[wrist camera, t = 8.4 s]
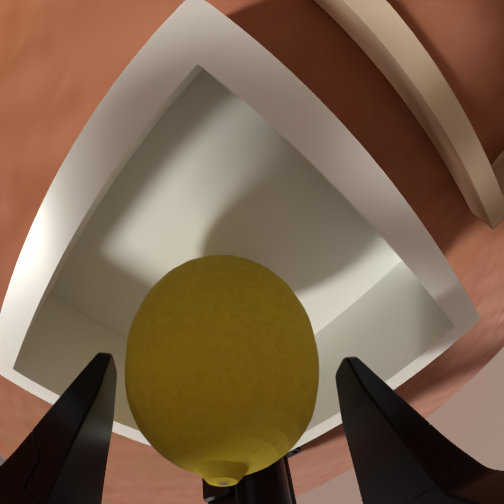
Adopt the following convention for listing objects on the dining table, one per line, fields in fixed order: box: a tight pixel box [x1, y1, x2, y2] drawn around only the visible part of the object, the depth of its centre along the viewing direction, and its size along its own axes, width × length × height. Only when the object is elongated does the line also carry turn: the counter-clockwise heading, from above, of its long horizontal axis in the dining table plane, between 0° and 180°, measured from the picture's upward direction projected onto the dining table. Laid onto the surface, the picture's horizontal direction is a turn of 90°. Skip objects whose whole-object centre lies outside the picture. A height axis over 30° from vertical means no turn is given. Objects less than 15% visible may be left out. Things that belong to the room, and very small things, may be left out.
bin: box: [0, 0, 481, 451], centre depth 11 cm, size 13×13×5 cm
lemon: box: [125, 255, 319, 486], centre depth 9 cm, size 6×6×8 cm
